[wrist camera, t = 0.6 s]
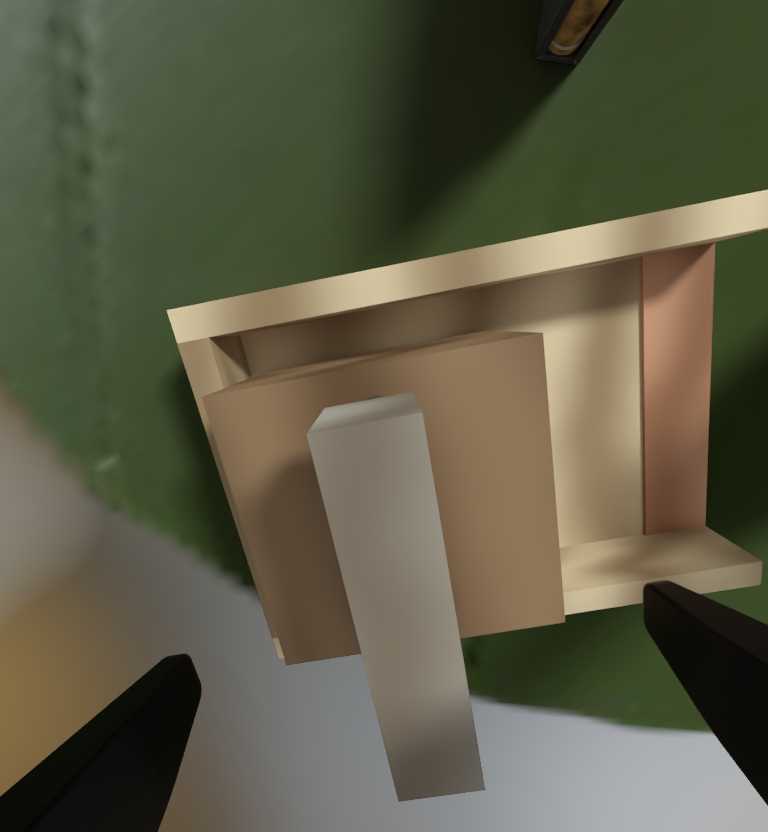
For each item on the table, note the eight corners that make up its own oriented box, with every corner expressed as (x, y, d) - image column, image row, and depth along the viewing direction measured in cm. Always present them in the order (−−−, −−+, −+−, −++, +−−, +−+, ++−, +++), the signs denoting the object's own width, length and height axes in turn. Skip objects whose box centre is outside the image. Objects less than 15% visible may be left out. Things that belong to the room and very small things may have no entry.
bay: (693, 219, 16) (792, 184, 12) (686, 533, 20) (760, 584, 16) (216, 314, 17) (166, 310, 13) (298, 596, 21) (279, 659, 17)
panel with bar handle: (484, 330, 16) (664, 337, 6) (507, 528, 18) (663, 781, 8) (266, 371, 16) (73, 448, 6) (316, 559, 19) (237, 838, 9)
